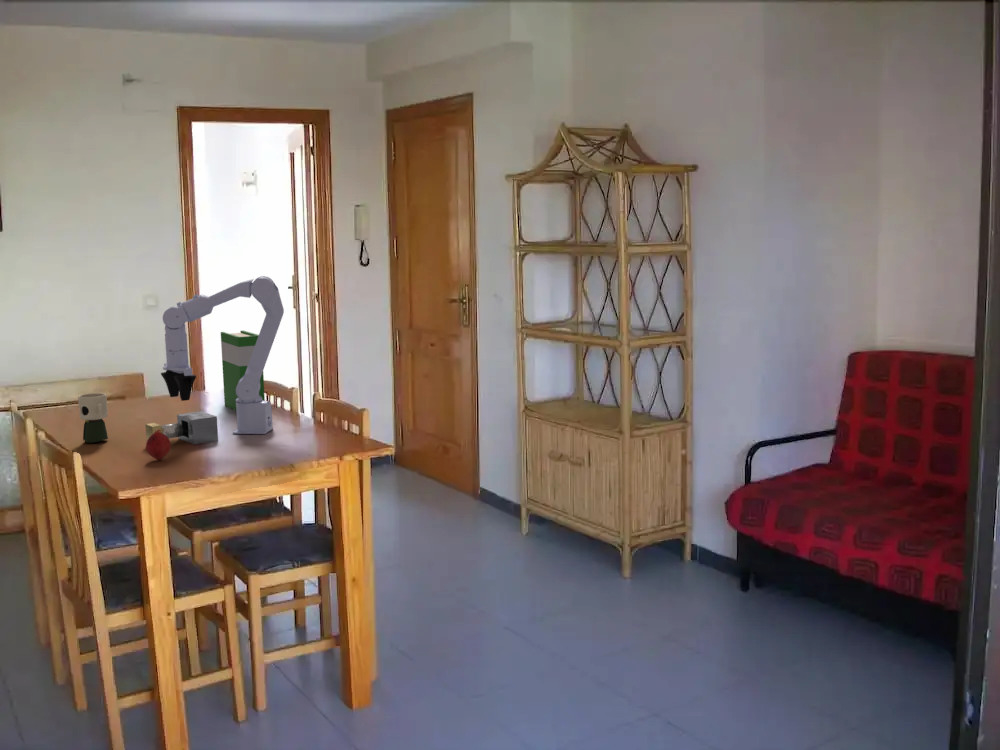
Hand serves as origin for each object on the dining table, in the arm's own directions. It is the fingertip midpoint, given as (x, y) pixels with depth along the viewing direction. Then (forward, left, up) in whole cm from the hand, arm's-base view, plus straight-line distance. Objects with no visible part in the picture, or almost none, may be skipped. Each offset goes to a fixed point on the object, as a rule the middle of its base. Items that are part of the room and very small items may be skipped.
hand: (179, 398), depth 273 cm
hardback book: (-5, -39, -11) cm, 41 cm away
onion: (-6, +29, -11) cm, 31 cm away
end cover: (-1, +12, -9) cm, 15 cm away
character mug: (+20, +9, -11) cm, 25 cm away
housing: (-7, +6, -10) cm, 14 cm away
